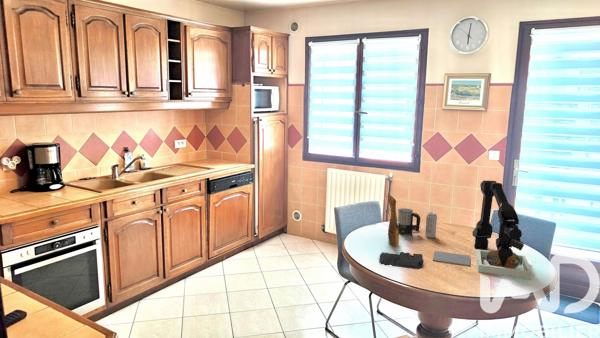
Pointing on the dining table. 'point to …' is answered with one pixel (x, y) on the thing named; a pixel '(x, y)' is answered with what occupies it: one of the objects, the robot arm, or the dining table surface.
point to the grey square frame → (502, 270)
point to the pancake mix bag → (393, 223)
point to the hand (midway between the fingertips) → (502, 262)
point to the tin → (495, 261)
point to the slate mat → (451, 258)
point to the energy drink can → (431, 224)
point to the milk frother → (407, 221)
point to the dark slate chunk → (402, 260)
